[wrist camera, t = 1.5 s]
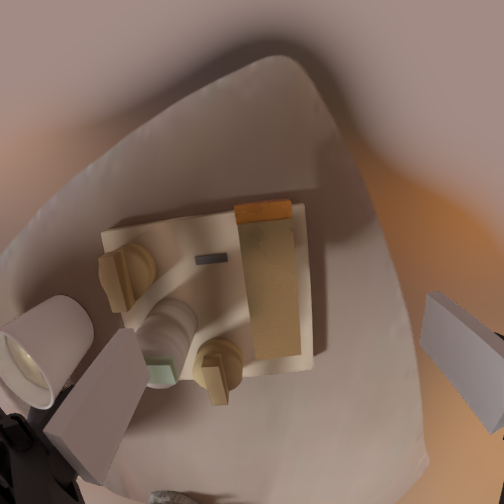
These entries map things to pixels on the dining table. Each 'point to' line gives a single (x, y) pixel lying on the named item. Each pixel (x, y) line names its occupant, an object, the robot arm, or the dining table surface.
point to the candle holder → (44, 349)
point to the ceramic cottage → (170, 498)
